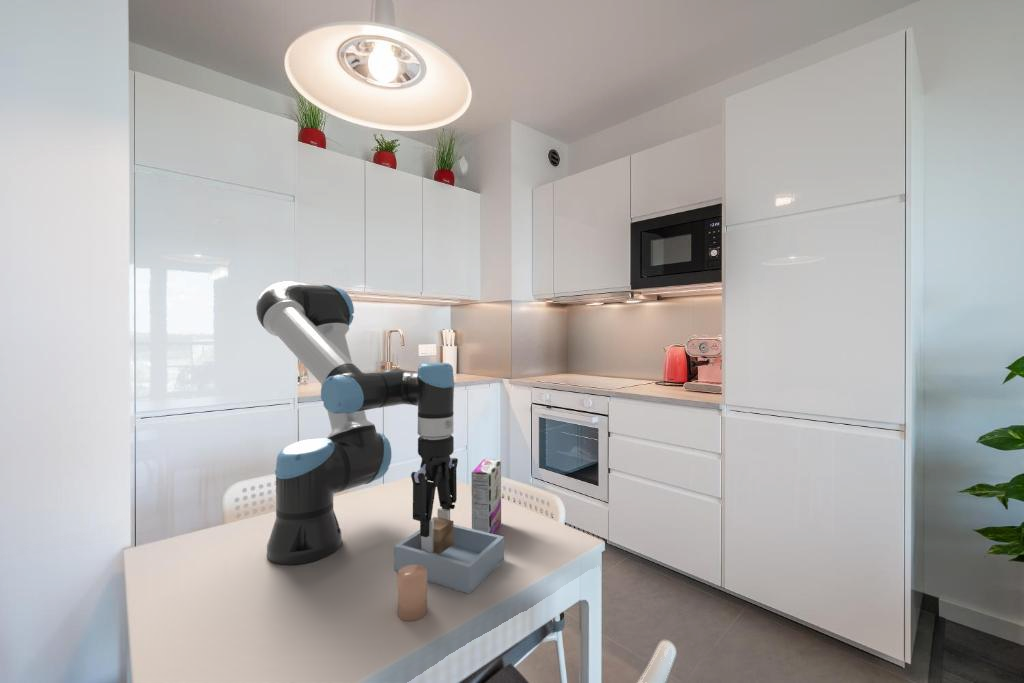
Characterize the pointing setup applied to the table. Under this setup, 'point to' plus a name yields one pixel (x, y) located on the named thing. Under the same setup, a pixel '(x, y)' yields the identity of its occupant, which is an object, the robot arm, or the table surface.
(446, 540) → the walnut cube
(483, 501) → the candy bar box
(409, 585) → the peach rounded cylinder
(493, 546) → the tote
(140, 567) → the table surface
